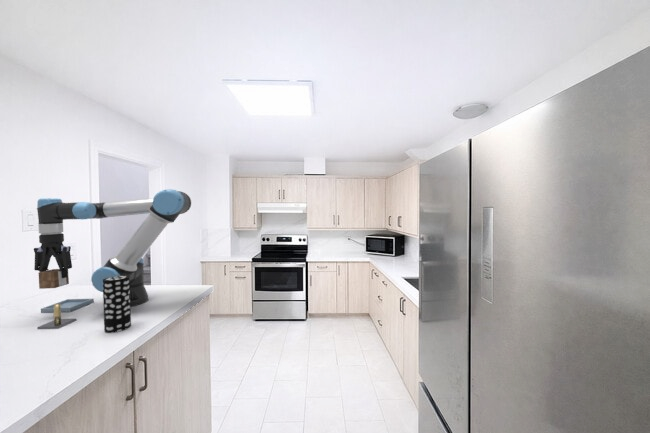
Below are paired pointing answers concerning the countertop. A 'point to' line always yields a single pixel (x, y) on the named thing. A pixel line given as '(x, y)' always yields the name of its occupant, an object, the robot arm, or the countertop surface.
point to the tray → (68, 305)
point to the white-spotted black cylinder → (116, 303)
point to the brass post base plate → (57, 320)
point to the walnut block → (50, 279)
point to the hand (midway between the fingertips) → (54, 285)
